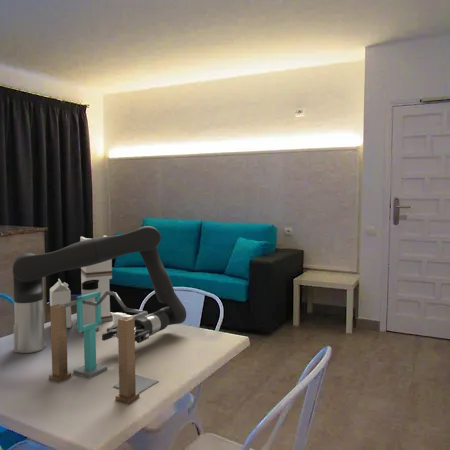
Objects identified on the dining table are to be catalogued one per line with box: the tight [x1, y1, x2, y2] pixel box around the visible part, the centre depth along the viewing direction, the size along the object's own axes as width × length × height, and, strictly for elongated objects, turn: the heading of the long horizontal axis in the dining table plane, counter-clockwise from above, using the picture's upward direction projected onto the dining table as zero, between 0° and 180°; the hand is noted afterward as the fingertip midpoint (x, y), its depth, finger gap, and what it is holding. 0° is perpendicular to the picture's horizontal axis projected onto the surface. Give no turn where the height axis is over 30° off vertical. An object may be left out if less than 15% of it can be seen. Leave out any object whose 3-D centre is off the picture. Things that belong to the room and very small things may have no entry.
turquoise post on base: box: [73, 291, 108, 379], centre depth 135 cm, size 8×7×24 cm
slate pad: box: [112, 374, 160, 394], centre depth 127 cm, size 9×9×1 cm
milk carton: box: [49, 278, 73, 329], centre depth 180 cm, size 7×7×19 cm
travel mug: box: [81, 280, 100, 332], centre depth 175 cm, size 6×7×20 cm
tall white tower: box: [79, 235, 114, 323], centre depth 190 cm, size 11×11×35 cm
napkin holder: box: [112, 312, 133, 327], centre depth 180 cm, size 15×11×6 cm
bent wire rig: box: [48, 290, 149, 405], centre depth 126 cm, size 30×11×26 cm, turn 60°
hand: (112, 339), depth 144 cm, fingers open, 8 cm apart
